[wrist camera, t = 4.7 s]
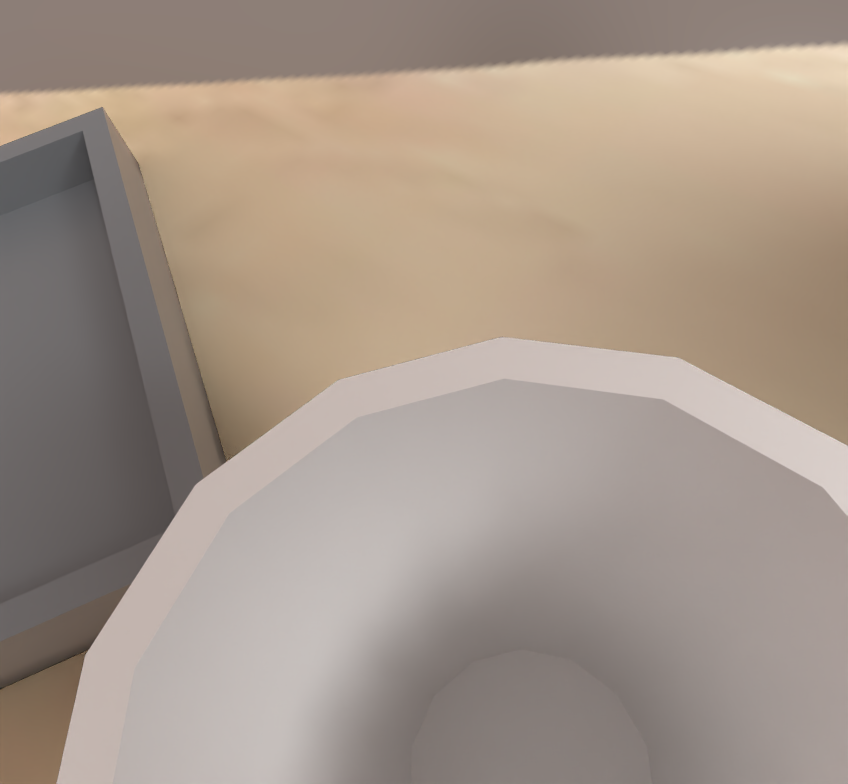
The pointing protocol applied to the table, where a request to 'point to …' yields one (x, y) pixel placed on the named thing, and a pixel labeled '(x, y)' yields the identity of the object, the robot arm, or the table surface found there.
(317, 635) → the foam cup
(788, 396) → the table surface
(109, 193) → the tray
